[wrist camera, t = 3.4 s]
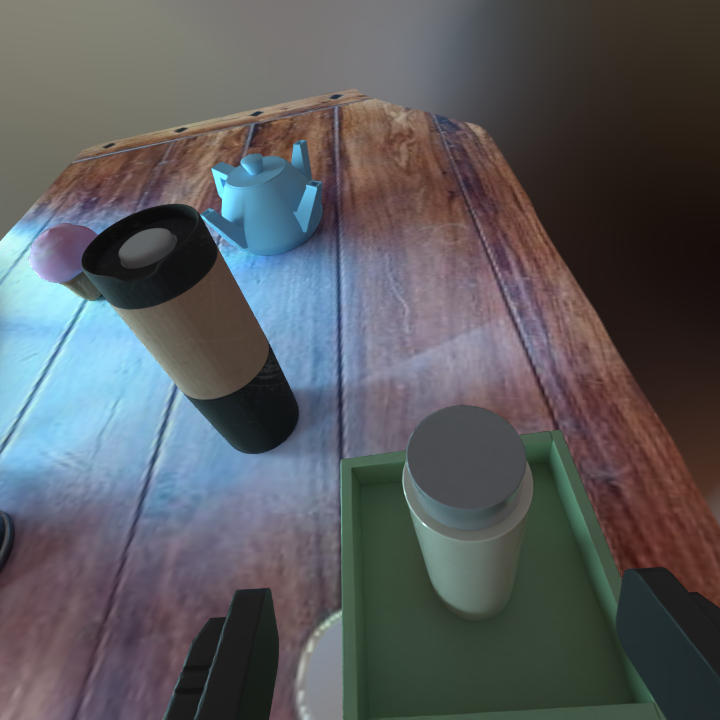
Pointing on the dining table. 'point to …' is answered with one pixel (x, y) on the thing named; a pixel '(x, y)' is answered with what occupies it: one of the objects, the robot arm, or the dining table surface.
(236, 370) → the travel mug
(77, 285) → the cupcake
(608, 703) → the green square tray
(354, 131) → the dining table surface
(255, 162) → the teapot
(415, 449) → the cylinder
